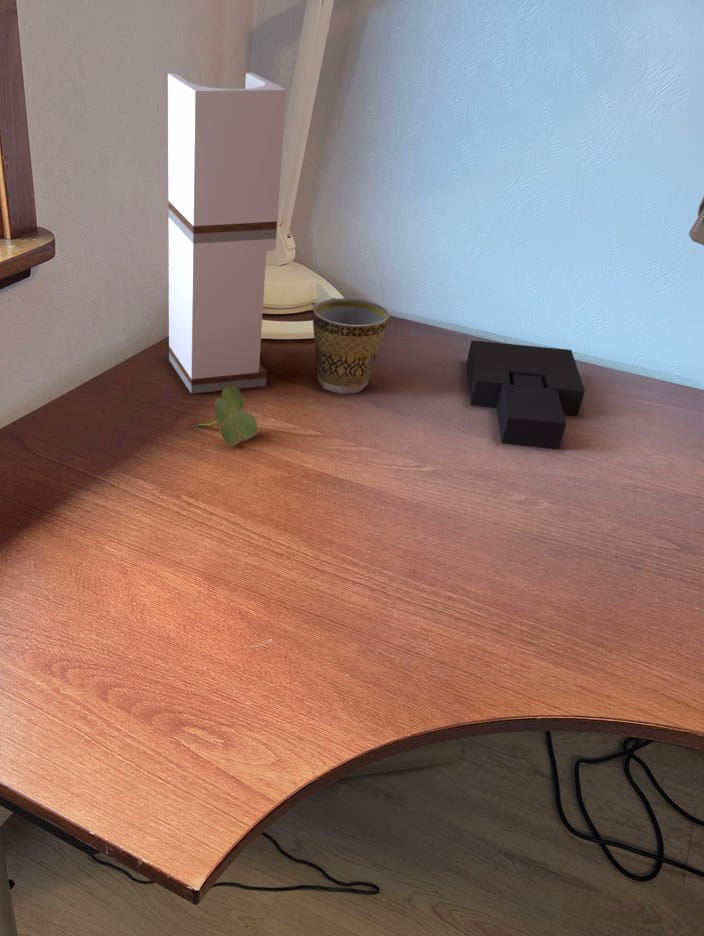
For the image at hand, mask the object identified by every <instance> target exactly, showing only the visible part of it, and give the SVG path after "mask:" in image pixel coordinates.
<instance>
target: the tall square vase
mask: <svg viewBox="0 0 704 936" xmlns="http://www.w3.org/2000/svg"><path fill="white" fill-rule="evenodd" d="M286 101H287V89H286V88H284V87H283V86H280V85H278V84H276V83H274V82H272V81H270V80H269V79H266V78H264V77H262V76H261V75H258V74H256V73H254V72H245V86H244V88H220V87H210V86H203V85H198V84H194V83H191V82H189V81H188V80H186V79H184V78H183V77H182V76H180V75H178V74H177V73H167V137H168V138H167V145H168V146H167V153H168V154H167V164H168V165H167V166H168V167H167V171H168V172H167V174H168V175H167V176H168V177H167V178H168V180H167V181H168V183H167V184H168V185H167V186H168V187H167V190H168V191H167V192H168V200H167V201H168V203H167V204H168V361H169V363H170V364H171V365H172V367H173V368H174V370H175V372H176V373H177V375H178V376H179V377H180V379H181V381H182V382H183V383H184V385H185V387H186V388H187V389H188V391H189V392H190V394H201V393H202V394H203V393H212V392H221V391H222V392H223V390H224V389H225V388H226V387H227V386H234V387H237V388H238V389H239V390H242V389H250V388H260V387H266V386H267V376H268V371H267V370H266V368H265V367H264V366H263V365H262V364H261V362H260V359H261V357H260V356H261V344H262V329H263V313H264V295H265V284H266V283H265V281H266V266H267V265H266V264H267V252H270V251H271V252H273V251H276V248H277V231H278V219H279V216H278V215H279V202H280V190H281V189H280V188H281V176H282V158H283V145H284V133H285V131H284V129H285V119H286V118H285V117H286Z"/></svg>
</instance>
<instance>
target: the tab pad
mask: <svg viewBox="0 0 704 936" xmlns="http://www.w3.org/2000/svg"><path fill="white" fill-rule="evenodd" d="M496 413H497V414H496V415H497V420H498V427H499V434H500V440H501V441H500V442H501V443H502V444H510V445H516V446H517V445H518V446H527V447H536V448H537V447H538V448H546V449H557V450H559V449H560V447H561V442H562V440H563V437H564V433H565V429H566V426H567V420H566V417H565V416H566V415H564V413H563V409H562V406H561V402H560V398H559V395H558V391H557V389H551V388H544V387H543V383H542V379H541V377H535V376H525V375H515V374H514V375H513V379H512V383H511V385H510V384H502V388H501V392H500V396H499V400H498V404H497V408H496Z"/></svg>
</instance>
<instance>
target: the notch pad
mask: <svg viewBox="0 0 704 936" xmlns="http://www.w3.org/2000/svg"><path fill="white" fill-rule="evenodd" d="M465 363H466V373H467V383H468V392H469V393H468V394H469V402H470V406H477V407H479V406H480V407H488V408H489V407H490V408H496V409H497V404H498V400H499V396H500V392H501V388H502V384H510V385H511V383H512V379H513V375H514V374H515V375H525V376H535V377H541V379H542V383H543V387H544V388H551V389H557V391H558V395H559V398H560V402H561V406H562V409H563V413H564V416H574V417H575V416H576V417H577V416H578V415H579V412H580V408H581V405H582V402H583V399H584V396H585V393H586V389H585V387H584V383H583V381H582V378H581V375H580V372H579V369H578V365H577V363H576V360H575V356H574V353H573V350H572V349H567V348H555V347H544V346H534V345H527V344H526V345H523V344H515V343H506V342H505V343H504V342H492V341H483V340H470V344H469V351H468V355H467V358H466V362H465ZM578 417H579V416H578Z"/></svg>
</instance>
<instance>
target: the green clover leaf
mask: <svg viewBox="0 0 704 936" xmlns="http://www.w3.org/2000/svg"><path fill="white" fill-rule="evenodd" d="M244 403H245V401H244V397H243V395H242V393H241V390H240V389H238V388H237V387H234V386H227V387H226V388H225V389H224V390H222V392H221V398H220V397H217V398H216V400H215V401H214V405H213V412H214V418H215V421H214V422H211V423H199V424H197V425H196V427H201V426H206V427H207V426H213V425H215V424H217V423H218V424H219V425H221V424H222V425H221V427H220V435H221V437H222V439H223V440H224V442H225V443H227V444H228V445H230V446H232V447H235V446H237V445H238V444H239V443H240V436H239V434H240V435H241V437H242V438H243V439H245V440H250V439H251V438H252V437H254V436H256V435H257V431H258V422H257V420H256V418H255V417H254V416H253V415H252V414H250V413H248V412H246V411H242V409H243V408H244Z"/></svg>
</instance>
